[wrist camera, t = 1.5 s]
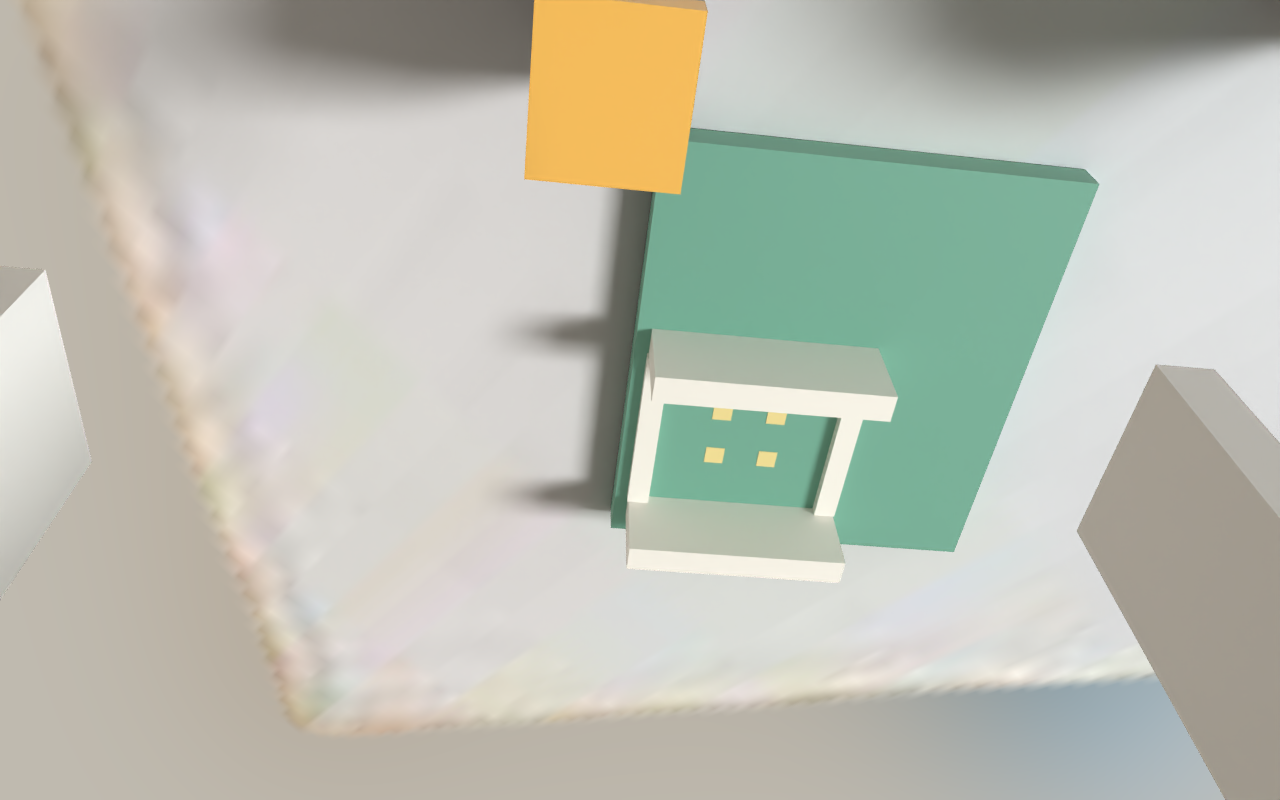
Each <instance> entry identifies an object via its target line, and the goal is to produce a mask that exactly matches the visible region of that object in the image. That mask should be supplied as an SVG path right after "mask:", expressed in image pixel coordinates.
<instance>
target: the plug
mask: <svg viewBox="0 0 1280 800" xmlns="http://www.w3.org/2000/svg"><path fill="white" fill-rule="evenodd" d="M707 13H708V11H707V7H706V4H705V1H704V0H534V14H533V32H532V50H531V69H530V87H529V105H528V123H527V141H526V159H525V177H524V179H528V180H539V181H549V182H559V183H569V184H579V185H589V186H599V187H609V188H619V189H630V190H640V191H650V192H660V193H670V194H681V188H682V181H683V174H684V167H685V161H686V154H687V147H688V140H689V134H690V127H691V120H692V114H693V107H694V100H695V93H696V87H697V80H698V73H699V66H700V60H701V53H702V46H703V40H704V33H705V26H706V19H707Z"/></svg>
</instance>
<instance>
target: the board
mask: <svg viewBox="0 0 1280 800" xmlns="http://www.w3.org/2000/svg"><path fill="white" fill-rule="evenodd" d="M1098 186H1099V183H1098V182H1097V181H1096V180H1095V179H1094V178H1093V177H1092V176H1091V175H1090V174H1089V173H1088V172H1087V171H1086V170H1085V169H1076V168H1066V167H1057V166H1047V165H1038V164H1028V163H1019V162H1009V161H1000V160H990V159H981V158H971V157H962V156H952V155H943V154H933V153H924V152H914V151H904V150H895V149H885V148H876V147H866V146H857V145H847V144H838V143H828V142H819V141H809V140H800V139H790V138H781V137H771V136H762V135H752V134H743V133H733V132H724V131H714V130H705V129H695V128H690V134H689V140H688V147H687V154H686V161H685V167H684V174H683V181H682V188H681V194H670V193H660V192H652V200H651V207H650V215H649V222H648V230H647V237H646V245H645V253H644V260H643V268H642V275H641V283H640V291H639V298H638V306H637V313H636V321H635V328H634V336H633V344H632V351H631V359H630V366H629V374H628V382H627V389H626V397H625V404H624V412H623V420H622V427H621V435H620V442H619V450H618V457H617V465H616V473H615V480H614V488H613V495H612V503H611V528H622V529H626V565H627V569H639V570H653V571H668V572H683V573H698V574H713V575H728V576H743V577H758V578H772V579H787V580H802V581H817V582H832V583H839V582H840V579H841V576H842V573H843V570H844V567H845V560H844V556H843V553H842V549H841V545H840V544H849V545H863V546H877V547H891V548H905V549H919V550H934V551H948V552H954V550H955V547H956V545H957V542H958V540H959V537H960V535H961V532H962V530H963V527H964V525H965V522H966V519H967V517H968V514H969V512H970V509H971V507H972V504H973V502H974V499H975V497H976V494H977V492H978V489H979V487H980V484H981V482H982V479H983V477H984V474H985V471H986V469H987V466H988V464H989V461H990V459H991V456H992V454H993V451H994V449H995V446H996V444H997V441H998V439H999V436H1000V434H1001V431H1002V429H1003V426H1004V424H1005V421H1006V418H1007V416H1008V413H1009V411H1010V408H1011V406H1012V403H1013V401H1014V398H1015V396H1016V393H1017V391H1018V388H1019V386H1020V383H1021V381H1022V378H1023V376H1024V373H1025V370H1026V368H1027V365H1028V363H1029V360H1030V358H1031V355H1032V353H1033V350H1034V348H1035V345H1036V343H1037V340H1038V338H1039V335H1040V333H1041V330H1042V328H1043V325H1044V322H1045V320H1046V317H1047V315H1048V312H1049V310H1050V307H1051V305H1052V302H1053V300H1054V297H1055V295H1056V292H1057V290H1058V287H1059V285H1060V282H1061V280H1062V277H1063V275H1064V272H1065V269H1066V267H1067V264H1068V262H1069V259H1070V257H1071V254H1072V252H1073V249H1074V247H1075V244H1076V242H1077V239H1078V237H1079V234H1080V232H1081V229H1082V227H1083V224H1084V221H1085V219H1086V216H1087V214H1088V211H1089V209H1090V206H1091V204H1092V201H1093V199H1094V196H1095V194H1096V191H1097V189H1098Z"/></svg>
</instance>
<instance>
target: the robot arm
mask: <svg viewBox="0 0 1280 800" xmlns="http://www.w3.org/2000/svg"><path fill="white" fill-rule="evenodd" d="M91 463H92V460H91V456H90V451H89V447H88V443H87V439H86V435H85V431H84V427H83V423H82V419H81V414H80V410H79V407H78V403H77V398H76V394H75V390H74V386H73V382H72V377H71V374H70V369H69V365H68V361H67V357H66V353H65V349H64V344H63V341H62V336H61V333H60V328H59V324H58V320H57V316H56V312H55V307H54V304H53V300H52V296H51V291H50V287H49V283H48V279H47V275H46V270H41V269H30V268H17V267H6V266H0V600H1V598H2V597H3V595H4V594H5V592H6V591H7V589H8V588H9V586H10V584H11V583H12V582H13V580H14V579H15V577H16V575H17V574H18V573H19V571H20V570H21V568H22V567H23V565H24V564H25V562H26V561H27V559H28V557H29V556H30V554H31V553H32V551H33V550H34V548H35V547H36V545H37V544H38V542H39V541H40V539H41V538H42V536H43V535H44V533H45V532H46V530H47V529H48V527H49V526H50V524H51V523H52V521H53V520H54V518H55V517H56V515H57V514H58V512H59V511H60V509H61V507H62V506H63V505H64V503H65V502H66V500H67V499H68V497H69V496H70V494H71V493H72V491H73V490H74V488H75V487H76V485H77V484H78V482H79V480H80V479H81V477H82V476H83V475H84V473H85V472H86V470H87V469H88V467H89V466H90V464H91ZM1077 532H1078V534H1079V536H1080V538H1081V540H1082V541H1083V543H1084V545H1085V547H1086V549H1087V550H1088V552H1089V554H1090V556H1091V558H1092V559H1093V561H1094V563H1095V565H1096V567H1097V569H1098V570H1099V572H1100V574H1101V576H1102V578H1103V579H1104V581H1105V583H1106V585H1107V587H1108V588H1109V590H1110V592H1111V594H1112V596H1113V597H1114V599H1115V601H1116V603H1117V605H1118V606H1119V608H1120V610H1121V612H1122V614H1123V616H1124V617H1125V619H1126V621H1127V623H1128V625H1129V626H1130V628H1131V630H1132V632H1133V634H1134V635H1135V637H1136V639H1137V641H1138V643H1139V644H1140V646H1141V648H1142V650H1143V652H1144V654H1145V655H1146V657H1147V659H1148V661H1149V663H1150V664H1151V666H1152V668H1153V670H1154V672H1155V673H1156V675H1157V677H1158V679H1159V681H1160V682H1161V684H1162V686H1163V688H1164V690H1165V691H1166V693H1167V695H1168V697H1169V699H1170V700H1171V702H1172V704H1173V706H1174V708H1175V710H1176V711H1177V713H1178V715H1179V717H1180V719H1181V720H1182V722H1183V724H1184V726H1185V728H1186V729H1187V731H1188V733H1189V735H1190V737H1191V739H1192V740H1193V742H1194V744H1195V746H1196V747H1197V749H1198V751H1199V753H1200V755H1201V757H1202V758H1203V760H1204V762H1205V764H1206V766H1207V767H1208V769H1209V771H1210V773H1211V775H1212V776H1213V778H1214V780H1215V782H1216V783H1217V786H1218V787H1219V789H1220V791H1221V793H1222V794H1223V796H1224V798H1225V800H1280V443H1279V442H1278V441H1277V439H1276V438H1275V437H1274V436H1273V435H1272V434H1271V433H1270V431H1269V430H1268V429H1267V428H1266V427H1265V426H1264V425H1263V424H1262V422H1261V421H1260V420H1259V419H1258V418H1257V417H1256V416H1255V415H1254V413H1253V412H1252V411H1251V410H1250V409H1249V408H1248V407H1247V405H1246V404H1245V403H1244V402H1243V401H1242V400H1241V399H1240V398H1239V396H1238V395H1237V394H1236V393H1235V392H1234V391H1233V390H1232V388H1231V387H1230V386H1229V385H1228V384H1227V383H1226V382H1225V381H1224V379H1223V378H1222V377H1221V376H1220V375H1219V374H1218V373H1217V372H1216V370H1214V369H1203V368H1191V367H1179V366H1167V365H1156V366H1155V368H1154V370H1153V372H1152V374H1151V376H1150V378H1149V380H1148V382H1147V384H1146V387H1145V389H1144V391H1143V393H1142V395H1141V397H1140V399H1139V401H1138V403H1137V405H1136V408H1135V410H1134V412H1133V414H1132V416H1131V418H1130V420H1129V422H1128V424H1127V426H1126V429H1125V431H1124V433H1123V435H1122V437H1121V439H1120V441H1119V443H1118V445H1117V447H1116V450H1115V452H1114V454H1113V456H1112V458H1111V460H1110V462H1109V464H1108V466H1107V468H1106V470H1105V473H1104V475H1103V477H1102V479H1101V481H1100V483H1099V485H1098V487H1097V489H1096V491H1095V494H1094V496H1093V498H1092V500H1091V502H1090V504H1089V506H1088V508H1087V510H1086V512H1085V515H1084V517H1083V519H1082V521H1081V523H1080V525H1079V527H1078V529H1077Z"/></svg>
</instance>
